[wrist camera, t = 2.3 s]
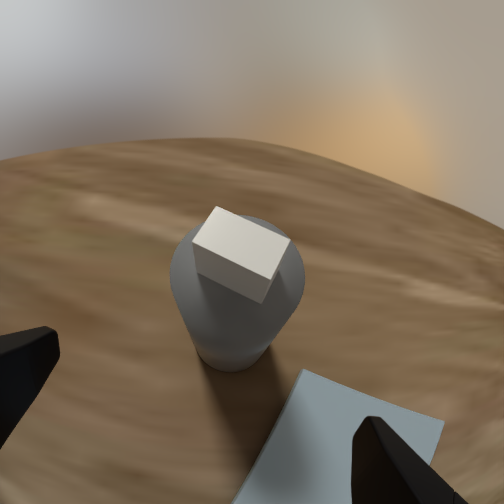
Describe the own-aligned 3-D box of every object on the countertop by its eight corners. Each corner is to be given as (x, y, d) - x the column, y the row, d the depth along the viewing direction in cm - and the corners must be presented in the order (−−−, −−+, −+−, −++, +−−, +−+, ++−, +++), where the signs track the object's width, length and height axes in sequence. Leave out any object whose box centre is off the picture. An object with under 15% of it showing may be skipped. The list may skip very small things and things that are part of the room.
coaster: (373, 559, 11) (377, 562, 10) (217, 525, 13) (217, 529, 12) (438, 421, 17) (444, 421, 16) (300, 370, 18) (303, 368, 18)
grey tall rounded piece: (246, 384, 18) (284, 352, 7) (181, 350, 18) (127, 269, 8) (277, 322, 20) (340, 216, 9) (215, 291, 20) (211, 160, 10)
